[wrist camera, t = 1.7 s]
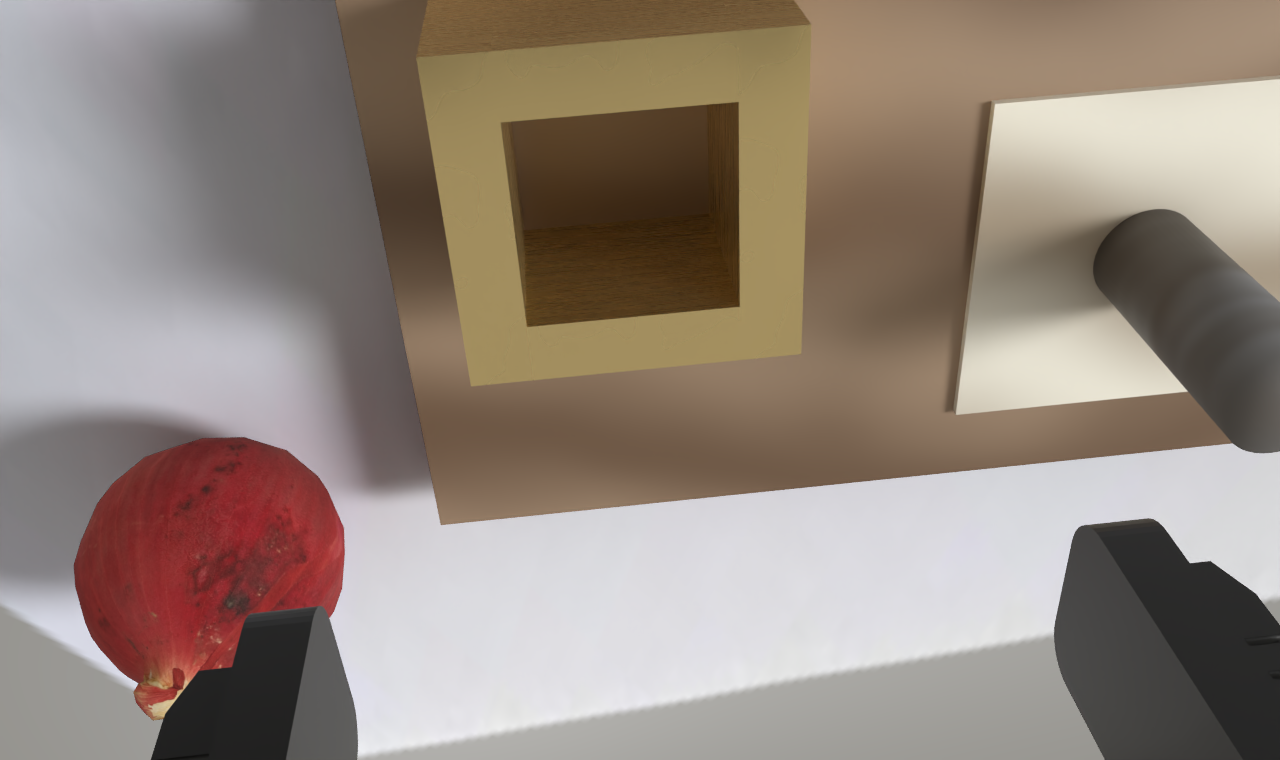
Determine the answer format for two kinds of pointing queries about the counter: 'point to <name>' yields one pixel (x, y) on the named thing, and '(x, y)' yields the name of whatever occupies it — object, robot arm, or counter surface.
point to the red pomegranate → (203, 558)
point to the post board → (891, 257)
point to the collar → (627, 250)
